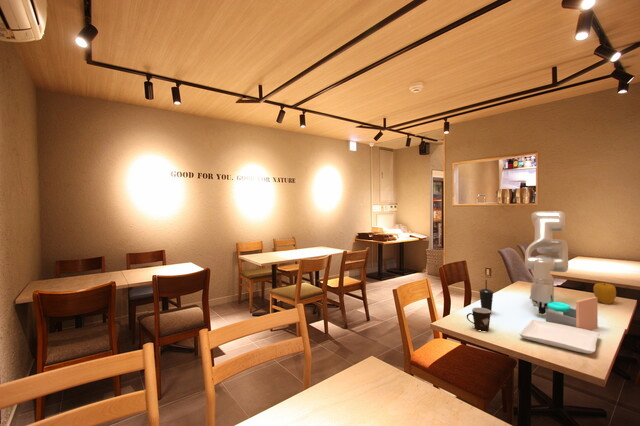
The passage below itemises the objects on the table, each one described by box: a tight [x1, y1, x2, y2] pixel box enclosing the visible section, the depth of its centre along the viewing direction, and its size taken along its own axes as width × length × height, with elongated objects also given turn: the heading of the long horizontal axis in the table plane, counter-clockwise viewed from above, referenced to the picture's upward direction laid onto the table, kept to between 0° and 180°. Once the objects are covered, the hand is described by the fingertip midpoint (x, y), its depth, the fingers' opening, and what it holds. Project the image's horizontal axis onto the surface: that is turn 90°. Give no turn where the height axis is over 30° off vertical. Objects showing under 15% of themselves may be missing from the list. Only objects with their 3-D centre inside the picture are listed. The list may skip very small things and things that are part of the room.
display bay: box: [545, 296, 599, 331], centre depth 162 cm, size 15×16×16 cm
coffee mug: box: [466, 307, 492, 332], centre depth 161 cm, size 12×9×10 cm
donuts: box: [547, 301, 571, 313], centre depth 168 cm, size 10×10×10 cm
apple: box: [592, 282, 617, 305], centre depth 198 cm, size 11×11×13 cm
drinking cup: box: [478, 279, 494, 312], centre depth 183 cm, size 8×8×20 cm
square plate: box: [519, 319, 601, 354], centre depth 147 cm, size 27×27×4 cm
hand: (542, 313), depth 175 cm, fingers closed
